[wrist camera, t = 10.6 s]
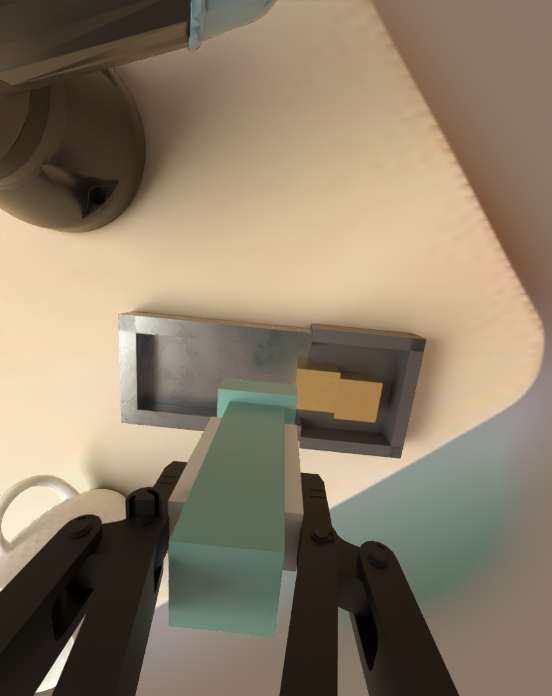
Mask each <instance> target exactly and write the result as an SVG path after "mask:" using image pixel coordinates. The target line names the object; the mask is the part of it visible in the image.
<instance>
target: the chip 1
mask: <svg viewBox="0 0 552 696" xmlns="http://www.w3.org/2000/svg"><path fill="white" fill-rule="evenodd" d="M340 374H341V373H340V371H339V369H338V368H337V366H336V365H328V364H318V363H308V362H298V361H297V362H296V371H295V379H294V385H296V386H297V395H298V398H297V406H296V409H302V410H312V411H321V412H331V413H335V407H336V400H337V394H338V387H339V381H340Z"/></svg>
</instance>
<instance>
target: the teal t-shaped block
mask: <svg viewBox="0 0 552 696" xmlns="http://www.w3.org/2000/svg"><path fill="white" fill-rule="evenodd" d="M297 398H298V395H297V386H296V385H294V384H284V383H273V382H263V381H252V380H242V379H231V378H224V380H223V381H222V383H221V385H220V386H219V388H218V403H217V417H221V418H222V419H221V422H220V424H219V426H218V429H217V431H216V433H215V436H214V438H213V440H212V442H211V445H210V447H209V449H208V452H207V454H206V456H205V459H204V461H203V463H202V466H201V468H200V470H199V473H198V475H197V477H196V479H195V482H194V484H193V486H192V489H191V491H190V493H189V496H188V498H187V500H186V503H185V505H184V507H183V509H182V512H181V514H180V516H179V519H178V521H177V523H176V526H175V528H174V530H173V533H172V535H171V537H170V540H169V626H172V627H183V628H192V629H202V630H212V631H222V632H233V633H243V634H253V635H263V636H273V637H274V635H275V627H276V618H277V610H278V602H279V594H280V586H281V578H282V569H283V561H284V553H285V424H295V415H296V406H297Z"/></svg>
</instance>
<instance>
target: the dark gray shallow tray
mask: <svg viewBox="0 0 552 696" xmlns="http://www.w3.org/2000/svg"><path fill="white" fill-rule="evenodd" d="M118 320H119V352H120V384H121V416H122V423H128V424H138V425H148V426H158V427H168V428H177V429H187V430H197V431H204V430H205V428H206V426H207V424H208V422H209V420H210V418H211V417H217V403H218V388H219V386H220V385H221V383H222V381H223V380H224V378H231V379H242V380H252V381H263V382H273V383H284V384H294V379H295V371H296V362H297V361H298V362H307V359H308V351H309V350H311V344H312V336H313V332H312V330H311V329H310V328H299V327H289V326H279V325H268V324H258V323H248V322H237V321H227V320H216V319H206V318H196V317H185V316H175V315H165V314H154V313H144V312H134V311H132V312H127V313H122V314H118ZM294 425H297V434H298V441H300V434H301V409H296V415H295V424H294Z"/></svg>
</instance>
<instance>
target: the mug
mask: <svg viewBox="0 0 552 696" xmlns="http://www.w3.org/2000/svg"><path fill="white" fill-rule="evenodd" d="M33 486H43V487H47V488H50V489H52V490H53V491H55V492H56V493H57V494H58V495H59V496H60V498H61V499H62V500H63V501H62V503H60V504H58V505H56V506H54V507H53V508H52V509H50V510H49V511H47V512H45V513H44V514H43V515H42V516H40V517H39V518H37V519H36V520H34V521H33V522H32V523H31V524H30V525H29V526H28V527H26V528H24V529H23V530H22V531H21V532H20V533H19V534H18V535H17V536H15V537H14V538H13V539H12V540H10V541H9V542H8V541H7V540H6V539H5V538H4V536H3V534H2V531H1V522H2V518H3V516H4V513H5V511H6V509H7V508H8V506H9V505H10V503H11V502H12V501H13V500H14V499H15V497H16V496H17V495H18V494H19V493H21V492H22V491H24V490H26V489H28V488H30V487H33ZM125 500H126V498H125V497H124V496H123V495H121V494H120V493H118V492H116V491H112V490H109V489H95V490H90V491H87V492H84V493H81V494H79V493H78V491H77V490H76V489H74V488H73V487H72V486H71V485H70V484H68V483H67V482H65V481H64V480H62V479H60V478H58V477H56V476H52V475H38V476H33V477H30V478H27V479H24V480H22V481H20V482H18V483H16V484H15V485H13V486H12V487H10V488H9V489H7V490H6V491H5V492H4V493H2V494H1V495H0V591H1V590H2V589H3V588H4V587H5V586H6V585H7V584H8V583H9V582H10V581H11V580H12V579H13V578H14V577H15V576H16V575H17V574H18V573H19V572H20V570H21V569H22V568H23V567H24V566H25V565H26V564H27V563H28V562H29V561H30V560H31V559H32V558H33V557H34V556H35V555H36V554H37V553H38V552H39V551H40V550H41V549H42V548H43V546H44V545H45V544H46V543H47V542H48V541H49V540H50V539H51V538H52V537H53V536H54V535H55V534H56V533H57V532H58V531H59V530H60V529H61V528H62V527H63V526H64V525H65V524H66V523H68V522H69V521H70V520H72V519H74V518H76V517H78V516H82V515H86V514H94V515H96V516H99V518H100V519H101V520H102V524H104V523H110V522H116V521H120V520H123V519H126V508H125ZM84 617H85V616H84ZM83 620H84V618H83V619H82V621H81V622H80V624H79V626H78V627H77V629H76V630H75V632H74V633H73V635H72V636H71V638H70V640H69V641H68V643H67V644H66V646H65V647H64V649H63V650H62V652H61V654H60V655H59V657H58V658H57V660H56V661H55V663H54V664H53V666H52V668H51V669H50V671H49V672H48V674H47V675H46V677H45V678H44V680H43V682H42V683H41V685H40V686H39V688H38V689H37V691H36V692H41V691H45V690H48V689H50V688H53V687H55V686H56V684H57V682H58V679H59V677H60V675H61V672H62V670H63V667H64V665H65V663H66V660H67V658H68V656H69V653H70V651H71V648H72V646H73V644H74V641H75V639H76V637H77V634H78V632H79V629H80V627H81V625H82V622H83Z"/></svg>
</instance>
